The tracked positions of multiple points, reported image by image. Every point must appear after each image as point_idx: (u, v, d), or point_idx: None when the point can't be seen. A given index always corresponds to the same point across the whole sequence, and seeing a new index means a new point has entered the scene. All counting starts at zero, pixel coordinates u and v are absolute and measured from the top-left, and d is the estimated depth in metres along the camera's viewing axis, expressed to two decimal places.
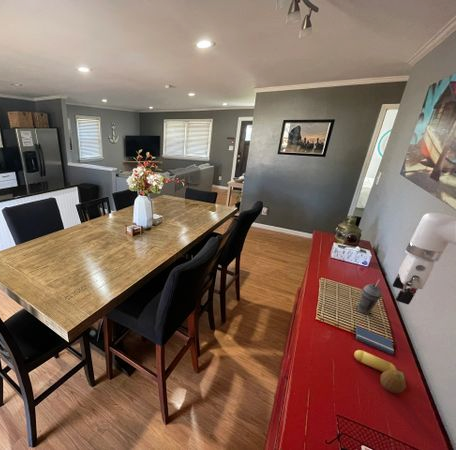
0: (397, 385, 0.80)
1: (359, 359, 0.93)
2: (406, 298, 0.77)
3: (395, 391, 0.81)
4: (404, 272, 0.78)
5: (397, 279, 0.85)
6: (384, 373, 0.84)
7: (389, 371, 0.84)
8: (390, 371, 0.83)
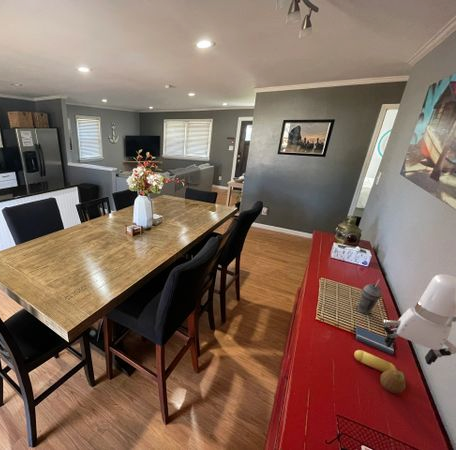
0: (397, 385, 0.80)
1: (359, 359, 0.93)
2: None
3: (395, 391, 0.81)
4: (435, 340, 0.72)
5: (393, 340, 0.79)
6: (384, 373, 0.84)
7: (389, 371, 0.84)
8: (390, 371, 0.83)
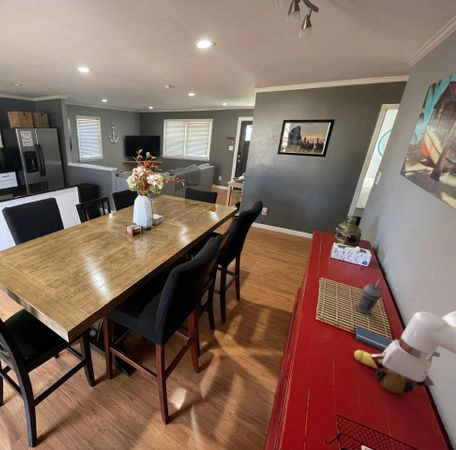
0: (397, 385, 0.80)
1: (359, 359, 0.93)
2: None
3: (395, 391, 0.81)
4: (417, 373, 0.76)
5: (384, 374, 0.83)
6: None
7: (389, 371, 0.84)
8: (390, 371, 0.83)
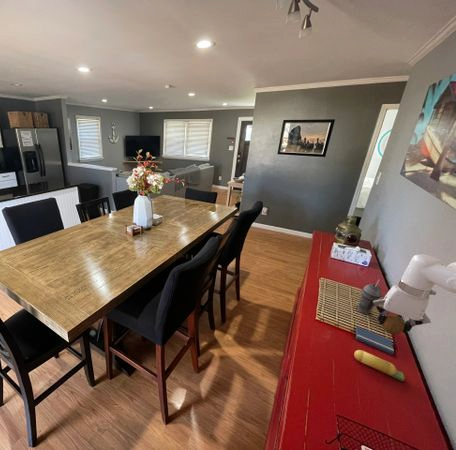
0: (397, 325, 0.87)
1: (359, 359, 0.93)
2: None
3: (395, 332, 0.88)
4: (415, 312, 0.83)
5: (384, 318, 0.90)
6: (385, 317, 0.91)
7: (389, 315, 0.90)
8: (390, 315, 0.90)
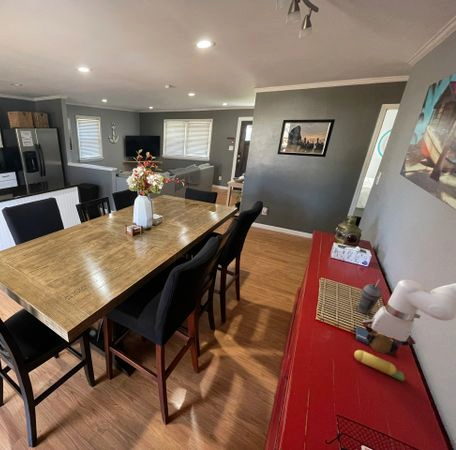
0: (384, 345, 0.92)
1: (359, 359, 0.93)
2: None
3: (383, 351, 0.93)
4: (401, 333, 0.88)
5: (373, 337, 0.95)
6: None
7: (378, 334, 0.95)
8: (378, 334, 0.95)
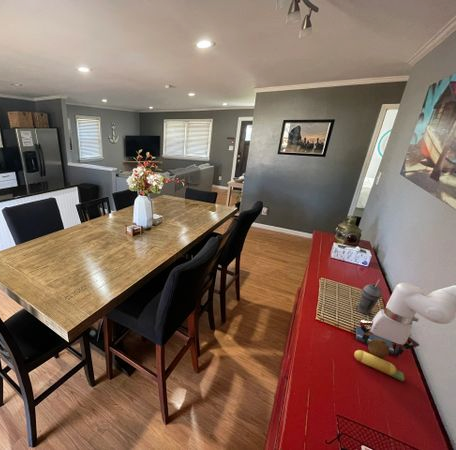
0: (382, 350, 0.93)
1: (359, 359, 0.93)
2: None
3: (380, 356, 0.94)
4: (400, 336, 0.89)
5: (368, 337, 0.96)
6: (371, 341, 0.97)
7: (375, 339, 0.96)
8: (376, 339, 0.96)
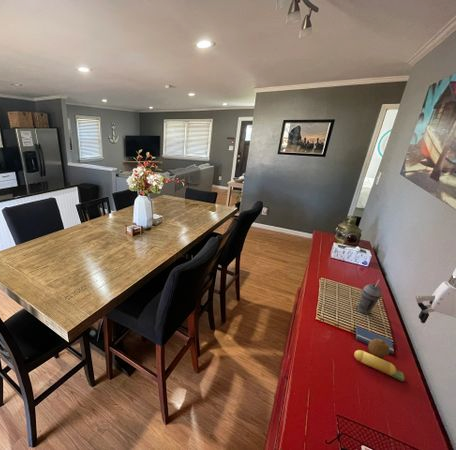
0: (382, 350, 0.93)
1: (359, 359, 0.93)
2: None
3: (380, 356, 0.94)
4: None
5: (428, 315, 0.80)
6: (371, 341, 0.97)
7: (375, 339, 0.96)
8: (376, 339, 0.96)
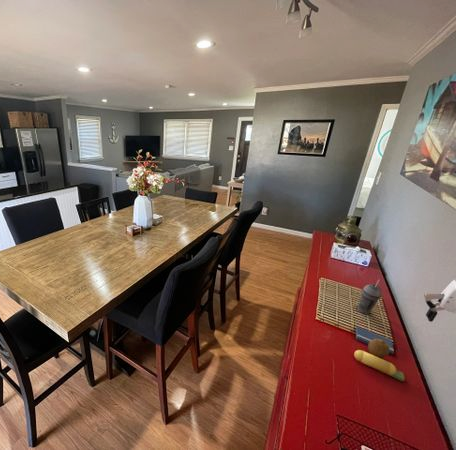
0: (382, 350, 0.93)
1: (359, 359, 0.93)
2: None
3: (380, 356, 0.94)
4: None
5: (436, 314, 0.78)
6: (371, 341, 0.97)
7: (375, 339, 0.96)
8: (376, 339, 0.96)
